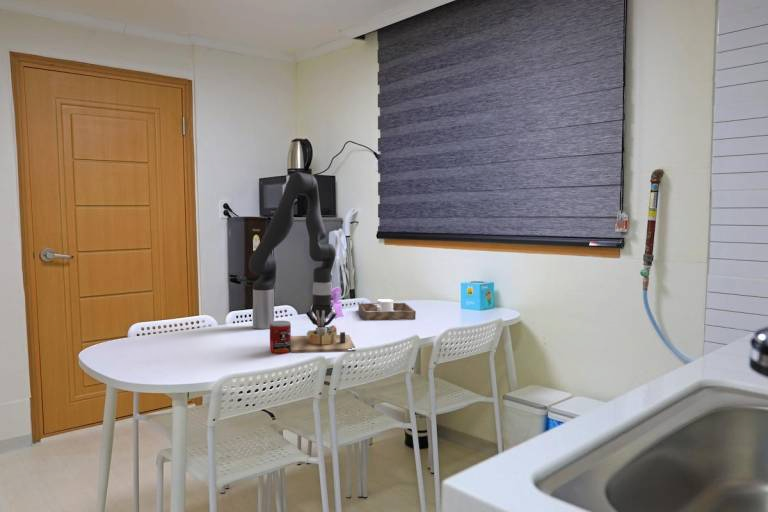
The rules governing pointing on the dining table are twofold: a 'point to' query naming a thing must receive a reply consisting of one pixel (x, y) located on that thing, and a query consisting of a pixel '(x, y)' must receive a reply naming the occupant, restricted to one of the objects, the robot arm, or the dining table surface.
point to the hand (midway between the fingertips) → (321, 335)
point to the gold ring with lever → (323, 336)
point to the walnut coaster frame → (386, 312)
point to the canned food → (280, 337)
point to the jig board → (303, 346)
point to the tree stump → (384, 305)
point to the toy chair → (337, 301)
